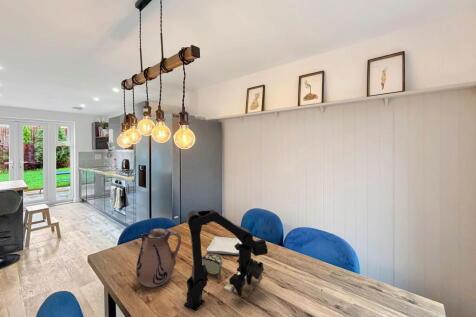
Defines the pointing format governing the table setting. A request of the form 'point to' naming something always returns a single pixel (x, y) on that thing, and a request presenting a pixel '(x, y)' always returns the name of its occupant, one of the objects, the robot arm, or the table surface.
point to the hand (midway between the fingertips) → (244, 290)
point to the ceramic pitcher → (156, 257)
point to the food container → (213, 265)
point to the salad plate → (224, 245)
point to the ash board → (230, 286)
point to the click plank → (248, 287)
